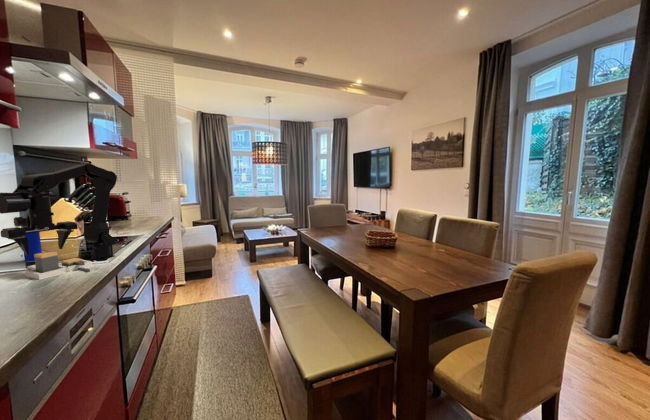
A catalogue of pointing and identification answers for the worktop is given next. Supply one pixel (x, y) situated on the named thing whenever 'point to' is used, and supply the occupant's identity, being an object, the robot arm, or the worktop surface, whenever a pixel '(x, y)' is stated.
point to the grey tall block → (46, 261)
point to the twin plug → (74, 263)
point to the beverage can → (33, 246)
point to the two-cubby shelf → (61, 270)
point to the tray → (35, 266)
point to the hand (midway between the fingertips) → (44, 252)
